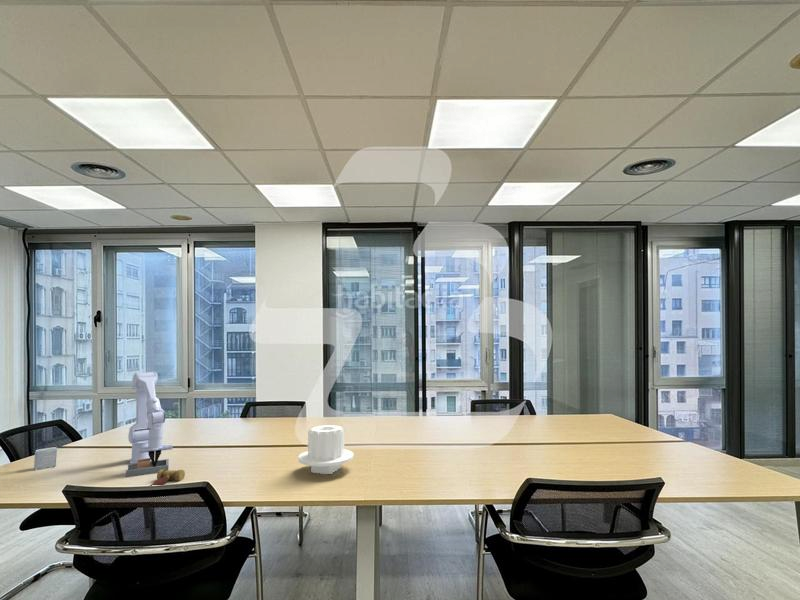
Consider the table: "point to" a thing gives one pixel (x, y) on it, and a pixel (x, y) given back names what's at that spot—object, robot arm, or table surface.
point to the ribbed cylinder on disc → (325, 449)
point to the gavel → (169, 476)
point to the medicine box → (45, 458)
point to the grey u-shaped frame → (147, 470)
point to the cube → (143, 463)
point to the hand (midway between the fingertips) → (154, 467)
